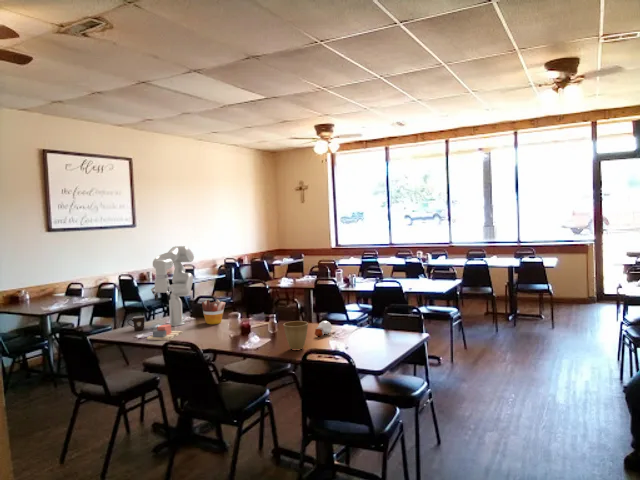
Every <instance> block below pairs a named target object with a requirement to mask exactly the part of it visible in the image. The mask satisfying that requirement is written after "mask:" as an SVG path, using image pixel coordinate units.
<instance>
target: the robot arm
mask: <svg viewBox="0 0 640 480" xmlns="http://www.w3.org/2000/svg"><path fill="white" fill-rule="evenodd" d="M194 255H195V254H194V252H193V251H192V250H191V249H190V248H189V246H186V245H183V246H182V245H179V246H178V245H175V246H172V247H170V249H169V250H168V251H167V252H164V253H162V254H159V255H157V256H155V258H154V259H153V261H152V267H153V268H154V269H155V280H154V287H152V288H151V289H150V291H151V292H152V294H153V295H154V300H155V301H159V293H161V294H162V293H163V294H165V293H166V301H167V302H168V304H169V305H168V306H169V307H168V308H169V322H168V324H167V325H171V327H178V326H183V325H185V324H186V323H185V321H184V320H185V319H186V317H183V301H182V299H181V298H180V297H188V296H190V294H191V290H192V287H193V282H194V276H193V274H192V273H191V272H186V267H185V266H184V264H182V263H192V262H194V259H195V256H194ZM173 266H174V270H173V273H172V279H171V282H172V284H170V280H169V275H168V273H167V269H168V270H169V269H172V267H173Z"/></svg>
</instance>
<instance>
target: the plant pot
mask: <svg viewBox="0 0 640 480" xmlns="http://www.w3.org/2000/svg"><path fill="white" fill-rule="evenodd" d="M308 325H309V322H307V321H305V320H304V321H302V320H294V321H293V320H292V321H288V322H287V321H286V322H285V323H283V329H284V334H285V339H286V341H287V344H288V346H289V348H290V350H291V349H301V348H303V349H304V348H305V344H306V343H305V342H306V341H307V340H306V339H307V334H308V328H309V326H308Z"/></svg>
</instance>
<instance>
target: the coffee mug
mask: <svg viewBox="0 0 640 480" xmlns="http://www.w3.org/2000/svg"><path fill="white" fill-rule="evenodd" d="M145 320H146V316H145V315H135V316H133V317H132V319H128V320H127V324H128V325H129V326H131V327H133V328H134V332H143V331H144V330H145ZM129 321H132V322H133V325H132V324H130V323H129Z"/></svg>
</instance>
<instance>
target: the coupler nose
mask: <svg viewBox="0 0 640 480" xmlns="http://www.w3.org/2000/svg"><path fill="white" fill-rule="evenodd" d="M152 335H153V337H165V336H167V334H166V330H157V329H155V330H152Z"/></svg>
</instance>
